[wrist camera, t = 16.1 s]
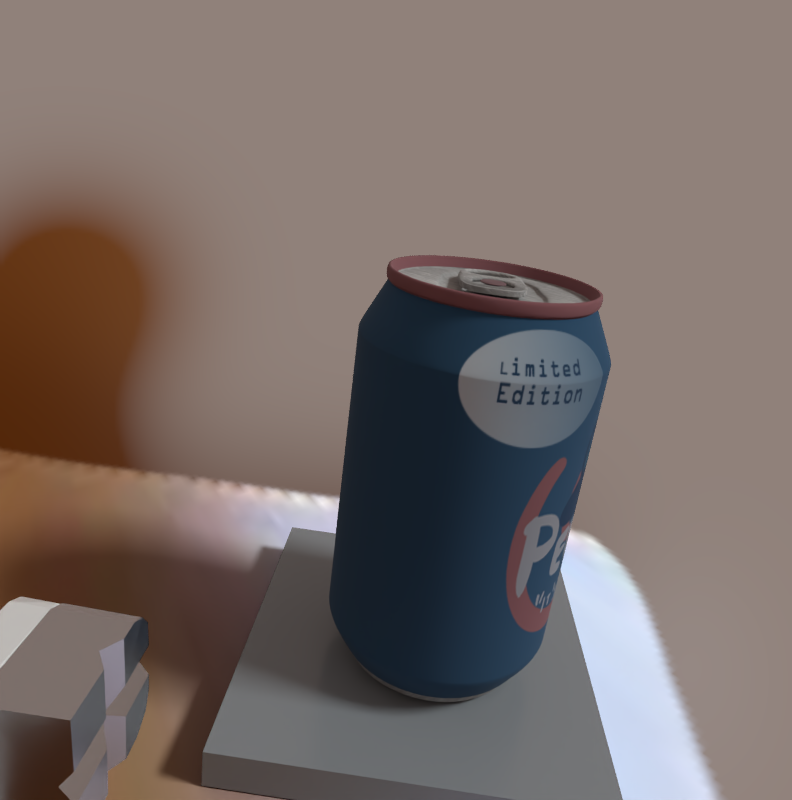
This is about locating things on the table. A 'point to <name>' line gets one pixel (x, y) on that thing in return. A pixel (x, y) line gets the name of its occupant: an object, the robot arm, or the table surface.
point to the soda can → (463, 469)
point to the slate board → (396, 713)
